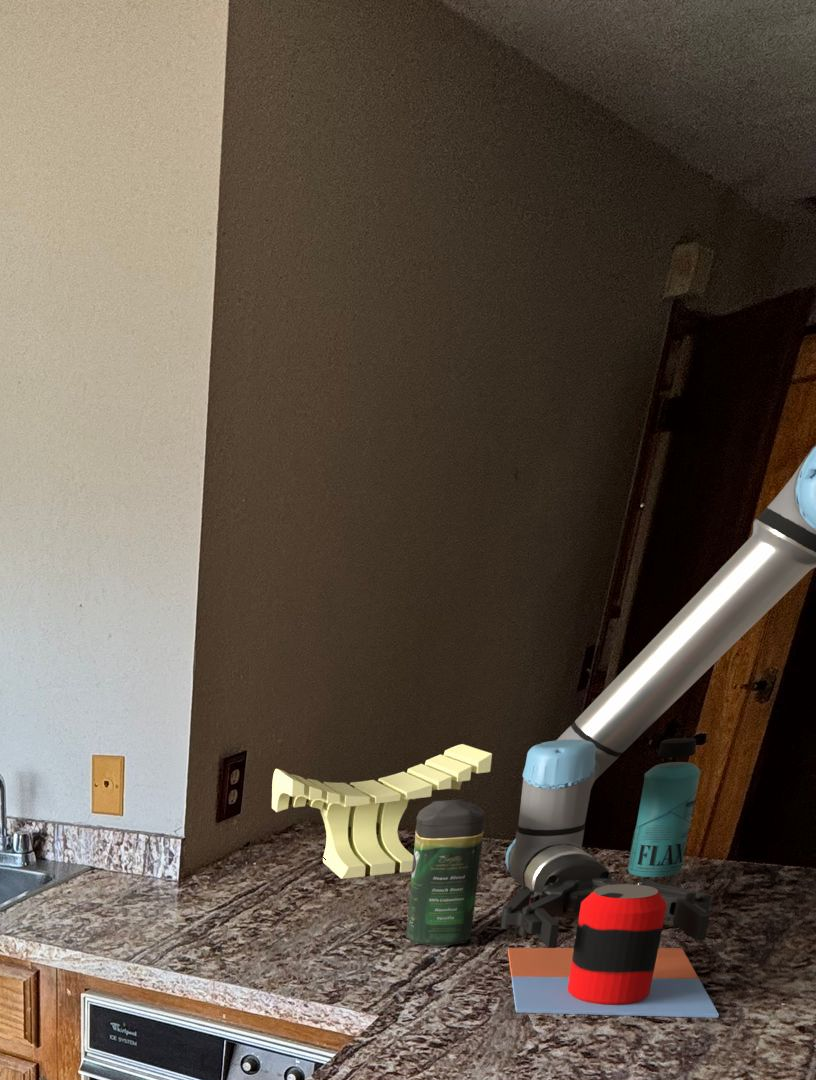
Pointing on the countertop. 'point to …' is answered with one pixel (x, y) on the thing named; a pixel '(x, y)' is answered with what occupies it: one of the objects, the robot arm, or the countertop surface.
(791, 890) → the countertop surface
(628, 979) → the soda can
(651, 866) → the teal pump bottle
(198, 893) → the countertop surface
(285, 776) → the slatted curved stool
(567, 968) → the sorting mat
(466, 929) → the coffee jar
